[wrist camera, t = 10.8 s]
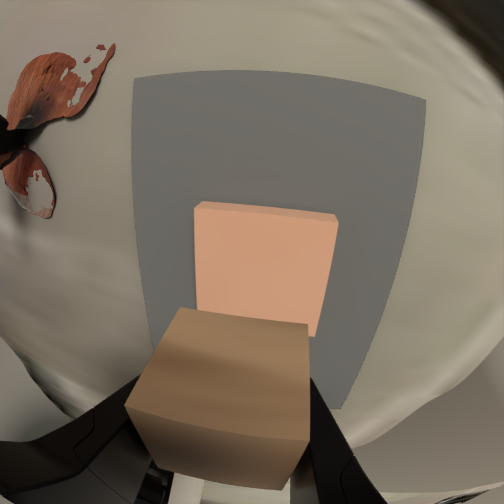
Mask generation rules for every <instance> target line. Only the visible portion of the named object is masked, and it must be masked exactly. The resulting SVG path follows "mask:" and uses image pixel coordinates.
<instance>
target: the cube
mask: <svg viewBox="0 0 504 504" xmlns="http://www.w3.org/2000/svg"><path fill="white" fill-rule="evenodd" d="M124 406H125V408H126V410H127V412H128V414H129V416H130V418H131V420H132V422H133V424H134V426H135V428H136V430H137V432H138V434H139V435H140V437H141V439H142V441H143V443H144V444H145V446H146V448H147V450H148V451H149V453H150V455H151V456H152V458H153V460H154V461H155V463H156V465H157V466H158V468H161V469H164V470H168V471H171V472H175V473H179V474H182V475H186V476H190V477H194V478H199V479H203V480H208V481H213V482H218V483H223V484H229V485H236V486H242V487H250V488H259V489H269V490H282V489H283V488H284V486H285V484H286V483H287V481H288V479H289V478H290V476H291V474H292V472H293V471H294V469H295V467H296V465H297V464H298V462H299V460H300V458H301V456H302V455H303V453H304V451H305V449H306V447H307V445H308V443H309V441H310V365H309V335H308V324H304V323H293V322H284V321H275V320H266V319H258V318H250V317H242V316H235V315H228V314H221V313H214V312H207V311H201V310H195V309H189V308H183V307H180V308H179V310H178V311H177V313H176V315H175V317H174V318H173V320H172V322H171V323H170V325H169V327H168V328H167V330H166V332H165V334H164V335H163V337H162V339H161V340H160V342H159V344H158V346H157V347H156V349H155V351H154V353H153V354H152V356H151V358H150V360H149V361H148V363H147V365H146V367H145V368H144V370H143V372H142V374H141V376H140V377H139V379H138V381H137V383H136V385H135V386H134V388H133V390H132V392H131V394H130V395H129V397H128V399H127V401H126V403H125V405H124Z"/></svg>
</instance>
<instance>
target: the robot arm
mask: <svg viewBox="0 0 504 504" xmlns="http://www.w3.org/2000/svg"><path fill="white" fill-rule="evenodd" d="M141 374H142V373H141ZM141 374H140V375H139V376H137V377H136V378H134V379H133V380H132V381H130V382H129V383H127V384H126V385H125V386H123V387H122V388H120V389H119V390H118V391H116V392H115V393H113V394H112V395H110V396H109V397H108V398H106V399H105V400H103V401H102V402H100V403H99V404H98V405H96V406H95V407H94V409H93V408H92V409H90V410H89V411H87V412H86V413H84V414H83V415H81V416H80V417H78V418H77V419H75V420H73V421H71V422H70V423H68V424H66V425H64V426H62V427H60V428H58V429H56V430H54V431H52V432H50V433H49V434H46V435H44V436H42V437H40V438H38V439H35V440H32V441H27V442H11V441H0V504H168V502H169V497H170V492H171V487H172V483H173V478H174V473H175V472H171V471H168V470H164V469H161V468H158V466H157V465H156V463H155V461H154V460H153V458H152V456H151V455H150V453H149V451H148V450H147V448H146V446H145V444H144V443H143V441H142V439H141V437H140V435H139V434H138V432H137V430H136V428H135V426H134V424H133V422H132V420H131V418H130V416H129V414H128V412H127V410H126V408H125V406H124V405H125V403H126V401H127V399H128V397H129V395H130V394H131V392H132V390H133V388H134V386H135V385H136V383H137V381H138V379H139V377H140V376H141ZM353 455H354V454H353V452H352V450H351V448H350V446H349V445H348V443H347V441H346V439H345V437H344V436H343V434H342V432H341V430H340V428H339V426H338V425H337V423H336V421H335V419H334V417H333V416H332V414H331V412H330V410H329V408H328V407H327V405H326V403H325V401H324V399H323V397H322V396H321V394H320V392H319V390H318V388H317V387H316V385H315V383H314V381H313V379H312V378H311V377H310V441H309V443H308V445H307V447H306V449H305V451H304V453H303V455H302V456H301V458H300V460H299V462H298V464H297V465H296V467H295V469H294V471H293V472H292V474H291V476H290V504H388V503H387V502H386V501H385V500H384V498H383V497H382V496H381V494H380V493H379V492H378V491H377V489H376V488H375V487H374V485H373V484H372V483H371V481H370V480H369V479H368V477H367V476H366V474H365V473H364V471H363V469H362V467H361V466H360V464H359V462H358V460H357V459H356V457H355V456H353Z"/></svg>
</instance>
